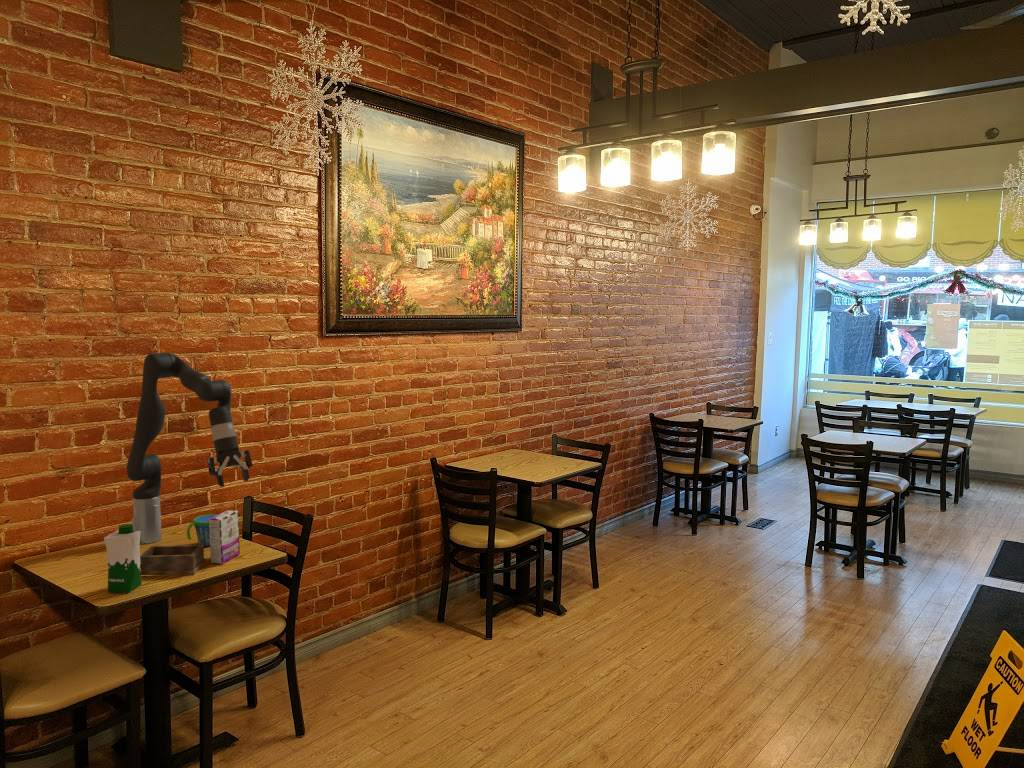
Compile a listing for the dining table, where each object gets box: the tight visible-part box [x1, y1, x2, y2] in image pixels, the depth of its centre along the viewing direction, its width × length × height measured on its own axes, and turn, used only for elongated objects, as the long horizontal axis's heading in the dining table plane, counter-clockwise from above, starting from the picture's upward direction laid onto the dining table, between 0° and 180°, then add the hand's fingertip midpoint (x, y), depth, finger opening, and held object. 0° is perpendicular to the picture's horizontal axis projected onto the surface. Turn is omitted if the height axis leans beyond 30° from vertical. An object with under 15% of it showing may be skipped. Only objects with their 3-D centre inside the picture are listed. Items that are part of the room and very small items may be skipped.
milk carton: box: [103, 523, 142, 594], centre depth 231 cm, size 9×9×20 cm
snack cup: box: [186, 513, 219, 547], centre depth 276 cm, size 16×10×10 cm
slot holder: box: [140, 544, 206, 576], centre depth 250 cm, size 18×12×6 cm, turn 96°
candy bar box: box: [209, 509, 241, 565], centre depth 260 cm, size 11×5×16 cm, turn 168°
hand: (234, 483), depth 248 cm, fingers open, 8 cm apart
